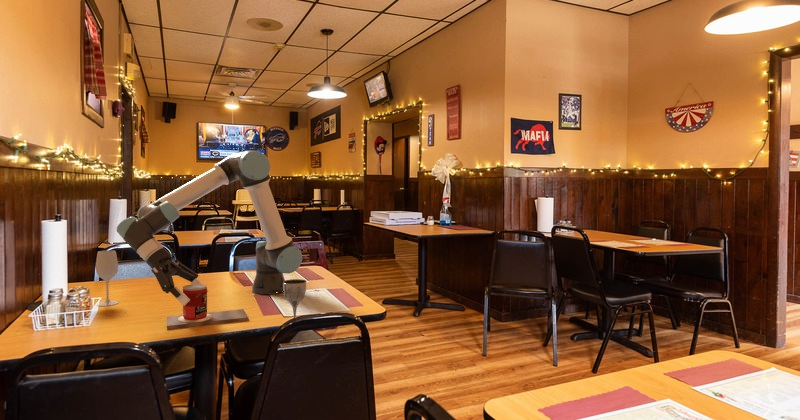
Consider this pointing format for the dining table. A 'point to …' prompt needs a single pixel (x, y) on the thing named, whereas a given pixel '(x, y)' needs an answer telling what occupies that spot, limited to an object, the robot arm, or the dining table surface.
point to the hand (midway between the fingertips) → (197, 298)
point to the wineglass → (107, 271)
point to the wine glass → (294, 292)
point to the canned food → (195, 302)
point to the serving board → (207, 319)
